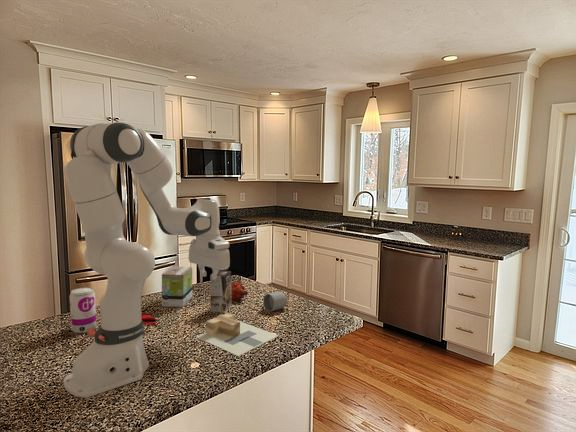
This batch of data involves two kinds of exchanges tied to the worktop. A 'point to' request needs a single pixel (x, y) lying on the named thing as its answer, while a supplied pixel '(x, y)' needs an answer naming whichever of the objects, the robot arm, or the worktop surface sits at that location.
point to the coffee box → (221, 291)
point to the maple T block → (223, 325)
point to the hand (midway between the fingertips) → (208, 277)
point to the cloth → (147, 317)
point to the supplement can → (82, 310)
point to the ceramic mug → (274, 301)
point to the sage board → (239, 339)
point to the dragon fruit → (237, 291)
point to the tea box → (176, 286)
